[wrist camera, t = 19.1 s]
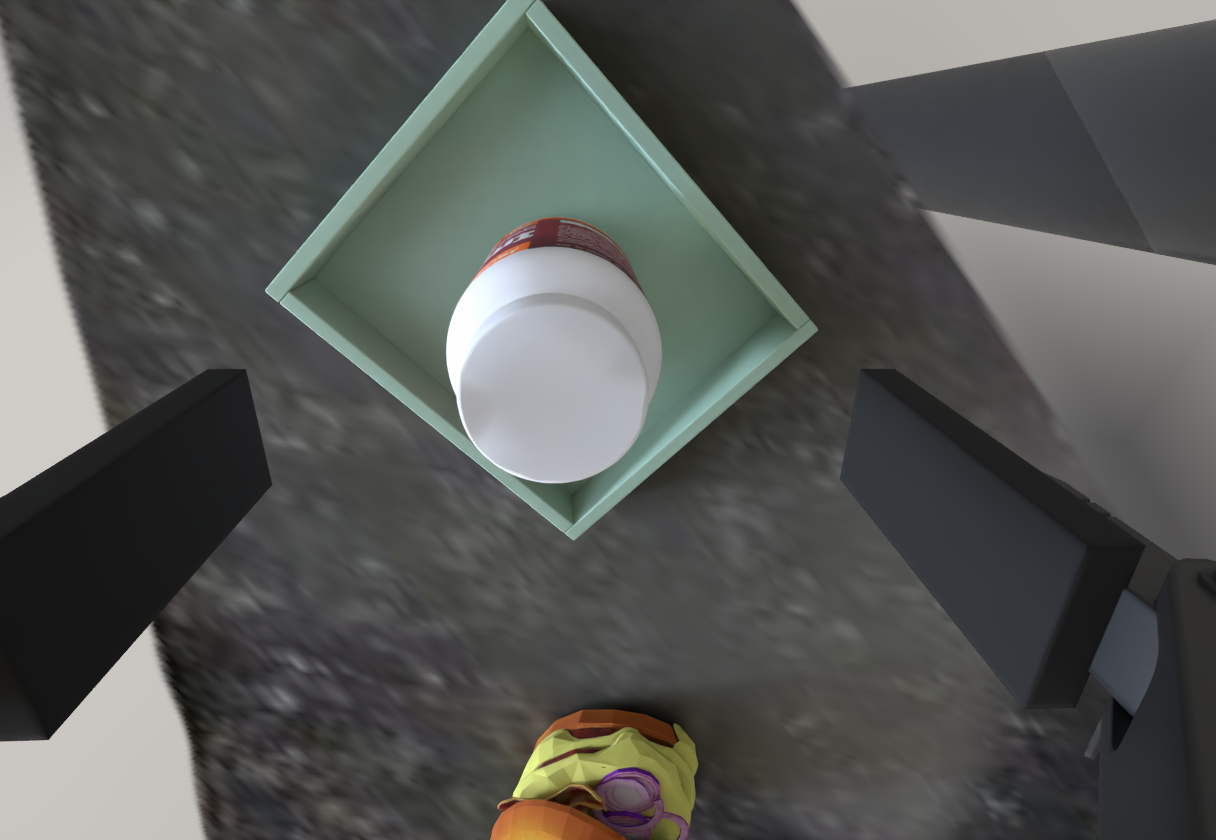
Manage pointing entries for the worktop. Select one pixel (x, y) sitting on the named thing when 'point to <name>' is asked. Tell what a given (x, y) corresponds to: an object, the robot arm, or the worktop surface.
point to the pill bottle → (554, 352)
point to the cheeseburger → (604, 781)
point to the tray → (515, 194)
